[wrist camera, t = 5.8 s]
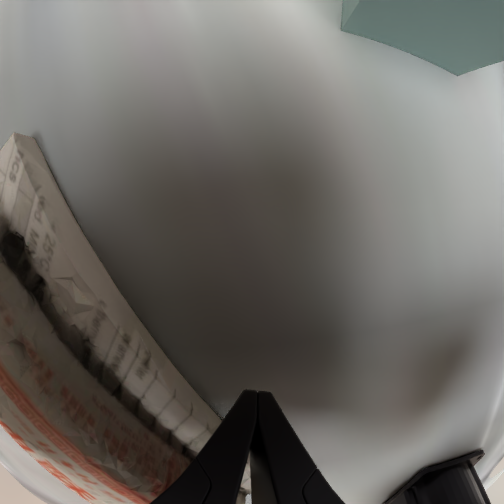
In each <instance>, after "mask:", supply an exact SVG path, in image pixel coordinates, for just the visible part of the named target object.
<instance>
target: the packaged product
mask: <svg viewBox="0 0 504 504" xmlns="http://www.w3.org/2000/svg"><path fill="white" fill-rule="evenodd" d="M221 422H222V420H221V419H220V418H219V417H218V416H217V415H216V413H215V412H214V411H213V410H212V409H211V408H210V407H209V406H208V405H207V404H206V403H205V402H204V401H203V400H202V398H201V397H200V396H199V395H198V394H197V393H196V392H195V390H194V389H193V388H192V387H191V386H190V385H189V383H188V382H187V381H186V380H185V379H184V377H183V376H182V375H181V374H180V373H179V371H178V370H177V369H176V368H175V366H174V365H173V364H172V363H171V361H170V360H169V359H168V357H167V356H166V355H165V353H164V352H163V351H162V349H161V348H160V347H159V345H158V344H157V343H156V341H155V340H154V339H153V337H152V336H151V335H150V333H149V332H148V331H147V329H146V328H145V327H144V325H143V324H142V323H141V321H140V320H139V318H138V317H137V316H136V314H135V313H134V311H133V310H132V309H131V307H130V306H129V304H128V303H127V301H126V300H125V298H124V297H123V296H122V294H121V293H120V291H119V290H118V288H117V287H116V285H115V284H114V282H113V280H112V279H111V277H110V276H109V274H108V272H107V271H106V269H105V268H104V266H103V264H102V263H101V261H100V260H99V258H98V257H97V255H96V253H95V252H94V250H93V249H92V247H91V245H90V244H89V242H88V240H87V239H86V237H85V235H84V234H83V232H82V230H81V228H80V227H79V225H78V223H77V221H76V220H75V218H74V216H73V214H72V212H71V211H70V209H69V207H68V205H67V203H66V201H65V199H64V197H63V196H62V194H61V192H60V190H59V188H58V186H57V184H56V182H55V180H54V178H53V175H52V173H51V171H50V169H49V167H48V165H47V163H46V160H45V158H44V156H43V154H42V152H41V150H40V148H39V146H38V145H37V143H36V141H35V139H34V138H31V137H28V136H25V135H21V134H18V133H15V132H14V133H13V134H12V135H11V137H10V138H9V139H8V141H7V142H6V144H5V145H4V146H3V148H2V149H1V151H0V424H1V426H2V427H3V429H4V430H5V431H6V432H7V433H8V434H9V435H10V436H11V437H12V438H13V439H14V441H15V442H17V443H18V444H19V445H20V446H21V447H22V448H23V449H24V450H25V451H26V452H27V453H28V454H29V455H30V456H32V457H33V458H34V459H35V460H36V461H37V462H38V463H39V464H40V465H41V466H42V467H44V468H45V469H46V470H47V471H48V472H50V473H51V474H52V475H53V476H55V477H56V478H57V479H58V480H59V481H61V482H62V483H63V484H64V485H65V486H67V487H68V488H69V489H71V490H72V491H73V492H75V493H76V494H77V495H79V496H80V497H82V498H83V499H85V500H87V501H88V502H90V503H91V504H149V503H151V502H152V501H153V500H154V499H156V498H157V497H158V496H159V495H160V494H161V493H163V492H164V491H165V490H166V489H167V488H168V487H169V486H170V485H171V484H172V483H173V482H174V481H175V480H177V479H178V478H179V476H180V475H181V474H182V473H183V472H184V471H185V469H186V468H187V467H188V466H189V465H190V463H191V462H192V461H193V459H195V457H196V456H197V454H198V453H199V452H200V450H201V449H202V448H203V447H204V445H205V444H206V443H207V441H208V440H209V438H210V437H211V436H212V434H213V433H214V432H215V430H216V429H217V428H218V426H219V425H220V423H221ZM247 494H251V478H250V452H249V456H248V460H247V463H246V467H245V471H244V475H243V479H242V482H241V486H240V490H239V493H238V497H237V501H236V504H245V501H246V499H245V497H246V495H247Z"/></svg>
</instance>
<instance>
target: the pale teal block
mask: <svg viewBox="0 0 504 504" xmlns="http://www.w3.org/2000/svg"><path fill="white" fill-rule="evenodd" d="M341 31H344V32H348V33H352V34H355V35H359V36H362V37H365V38H369V39H372V40H375V41H378V42H381V43H384V44H386V45H389V46H392V47H395V48H397V49H400V50H402V51H405V52H408V53H410V54H412V55H415V56H417V57H419V58H422V59H424V60H426V61H428V62H431V63H433V64H435V65H437V66H439V67H441V68H443V69H445V70H447V71H449V72H451V73H453V74H455V75H457V76H458V75H461V74H464V73H467V72H470V71H473V70H476V69H479V68H482V67H485V66H488V65H491V64H495V63H498V62H501V61H504V0H343V5H342V22H341Z"/></svg>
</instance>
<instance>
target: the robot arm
mask: <svg viewBox="0 0 504 504" xmlns="http://www.w3.org/2000/svg"><path fill="white" fill-rule="evenodd" d="M249 452H250V478H251V498H252V504H345V503H344V502H343V501H342V500H341V498H340V497H339V496H338V495H337V494H336V493H335V491H334V490H333V489H332V488H331V486H330V485H329V484H328V482H327V481H326V479H325V478H324V477H323V475H322V474H321V472H320V471H319V469H317V466H316V465H315V463H314V461H313V460H312V458H311V457H310V455H309V454H308V452H307V451H306V449H305V447H304V446H303V444H302V443H301V441H300V439H299V438H298V436H297V435H296V433H295V431H294V430H293V428H292V427H291V425H290V423H289V422H288V420H287V418H286V417H285V415H284V413H283V412H282V410H281V408H280V407H279V405H278V403H277V402H276V400H275V398H274V397H273V395H272V393H271V392H266V391H258V392H257V391H256V390H248V389H245V390H244V391H243V392H242V393H241V395H240V396H239V398H238V399H237V401H236V402H235V404H234V405H233V406H232V408H231V409H230V411H229V412H228V414H227V415H226V416H225V418H224V419H223V421H222V422H221V423H220V425H219V426H218V428H217V429H216V430H215V432H214V433H213V434H212V436H211V437H210V438H209V440H208V441H207V443H206V444H205V445H204V447H203V448H202V449H201V450H200V452H199V453H198V454H197V456H196V457H195V459H193V461H192V462H191V463H190V465H189V466H188V467H187V468H186V469H185V471H184V472H183V473H182V474H181V475H180V476H179V478H178V479H177V480H175V481H174V482H173V483H172V484H171V485H170V486H169V487H168V488H167V489H166V490H165V491H164V492H163V493H161V494H160V495H159V496H158V497H157V498H156V499H154V500H153V501H152V502H151V503H149V504H236V501H237V497H238V493H239V490H240V486H241V482H242V479H243V475H244V471H245V467H246V463H247V460H248V456H249ZM484 454H485V453H484V451H483V450H480V451H478V452H475V453H472V454H470V455H467V456H464V457H461V458H458V459H455V460H452V461H449V462H446V463H442V464H439V465H435V466H432V467H428V468H426V469H424V470H422V471H420V472H419V473H418V474H417V475H416V476H415V477H414V478H413V479H412V480H411V481H410V482H409V483H408V484H407V485H405V486H404V487H403V488H402V489H401V490H400V491H399V492H398V493H397V494H395V495H394V496H393V497H392V498H391V499H390V500H388V501H387V502H386V503H385V504H491V503H490V500H489V498H488V496H487V494H486V492H485V489H484V487H483V485H482V483H481V481H480V479H479V477H478V475H477V473H476V471H475V468H474V465H475V464H476V463H477V462H478V461H479V460H480V459H481V458H482V457H483V456H484Z"/></svg>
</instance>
